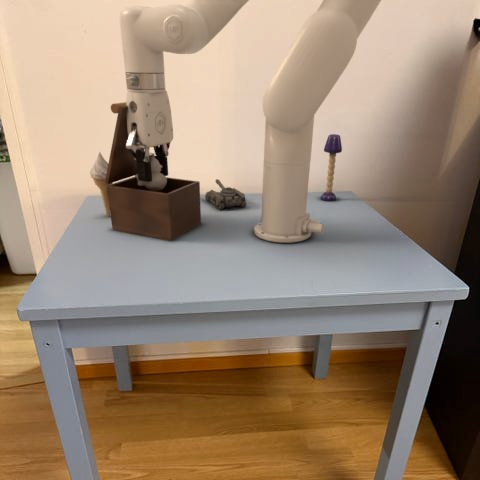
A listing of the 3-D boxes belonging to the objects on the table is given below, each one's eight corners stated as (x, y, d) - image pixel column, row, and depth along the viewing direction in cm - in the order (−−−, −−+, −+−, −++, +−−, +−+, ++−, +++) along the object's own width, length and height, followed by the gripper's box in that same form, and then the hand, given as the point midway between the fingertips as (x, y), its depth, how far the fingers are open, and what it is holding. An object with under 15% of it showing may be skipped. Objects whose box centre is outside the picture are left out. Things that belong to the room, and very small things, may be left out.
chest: (201, 224, 105) (199, 181, 100) (171, 241, 96) (168, 194, 91) (145, 214, 111) (142, 173, 106) (112, 229, 101) (106, 185, 96)
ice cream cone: (124, 214, 111) (117, 150, 104) (112, 221, 107) (102, 154, 99) (105, 212, 113) (96, 148, 105) (91, 218, 108) (81, 152, 101)
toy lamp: (337, 201, 123) (345, 136, 114) (320, 201, 123) (326, 136, 115) (334, 197, 127) (341, 133, 119) (317, 197, 127) (324, 133, 119)
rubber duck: (170, 192, 98) (167, 153, 94) (139, 194, 96) (136, 155, 92) (164, 186, 103) (162, 149, 99) (135, 188, 100) (131, 150, 96)
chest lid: (160, 102, 96) (141, 91, 97) (122, 107, 86) (101, 94, 87) (143, 172, 106) (125, 162, 107) (107, 184, 96) (88, 172, 97)
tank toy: (201, 199, 123) (200, 180, 121) (233, 196, 127) (233, 177, 124) (216, 212, 114) (216, 191, 111) (250, 208, 117) (251, 187, 114)
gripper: (134, 86, 81) (144, 189, 90) (185, 82, 94) (189, 172, 103) (101, 84, 83) (114, 184, 93) (155, 81, 97) (161, 168, 106)
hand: (153, 177), depth 98 cm, fingers closed on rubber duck, 5 cm apart
